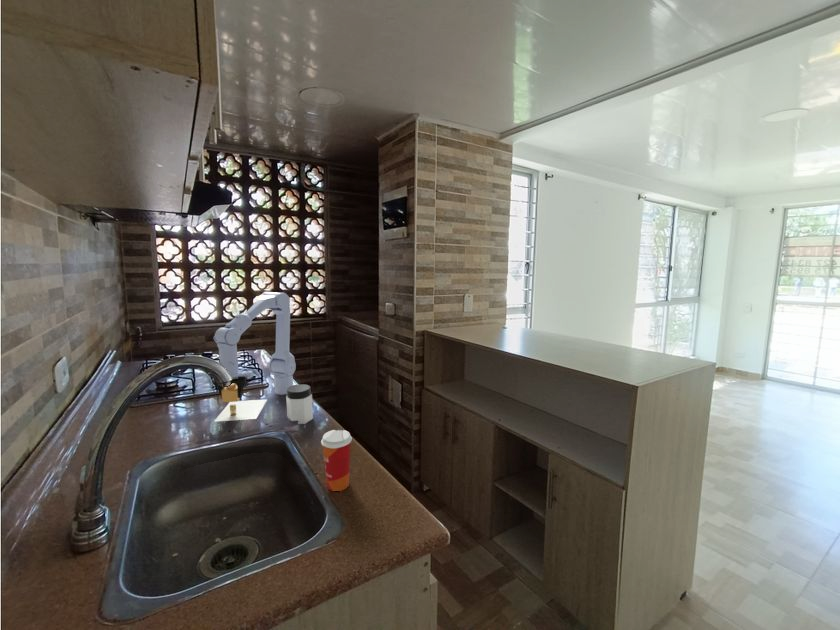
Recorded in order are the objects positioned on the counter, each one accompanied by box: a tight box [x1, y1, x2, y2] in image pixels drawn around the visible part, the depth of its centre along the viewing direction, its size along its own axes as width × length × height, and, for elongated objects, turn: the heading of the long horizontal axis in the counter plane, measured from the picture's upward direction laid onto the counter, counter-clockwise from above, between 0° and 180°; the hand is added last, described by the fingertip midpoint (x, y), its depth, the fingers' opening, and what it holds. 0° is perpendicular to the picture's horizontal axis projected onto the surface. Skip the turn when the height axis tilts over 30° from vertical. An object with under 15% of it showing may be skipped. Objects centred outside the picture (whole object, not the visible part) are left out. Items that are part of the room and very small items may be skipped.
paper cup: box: [320, 429, 353, 492], centre depth 97 cm, size 8×8×14 cm
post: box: [230, 404, 237, 416], centre depth 136 cm, size 2×2×4 cm
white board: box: [213, 399, 268, 423], centre depth 141 cm, size 18×14×2 cm
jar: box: [285, 383, 314, 425], centre depth 135 cm, size 9×8×12 cm
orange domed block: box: [221, 382, 241, 403], centre depth 135 cm, size 5×5×6 cm
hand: (232, 397), depth 135 cm, fingers closed on orange domed block, 5 cm apart
